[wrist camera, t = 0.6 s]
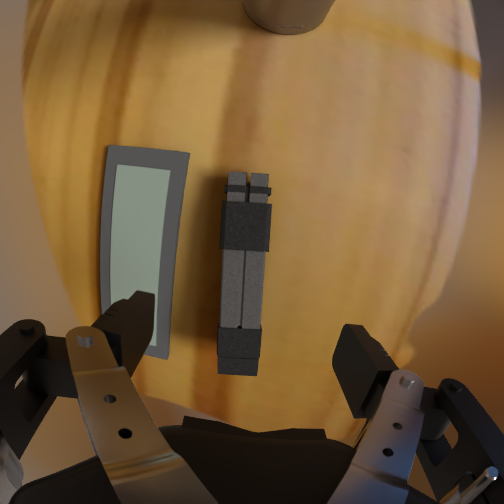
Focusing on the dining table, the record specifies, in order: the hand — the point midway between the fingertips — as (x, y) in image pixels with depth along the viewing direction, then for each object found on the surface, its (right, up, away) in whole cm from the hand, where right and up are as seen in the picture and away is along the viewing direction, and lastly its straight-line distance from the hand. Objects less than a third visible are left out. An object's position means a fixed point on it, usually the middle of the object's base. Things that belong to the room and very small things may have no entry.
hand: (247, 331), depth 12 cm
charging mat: (-13, +2, +20) cm, 24 cm away
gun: (-1, +1, +21) cm, 21 cm away
